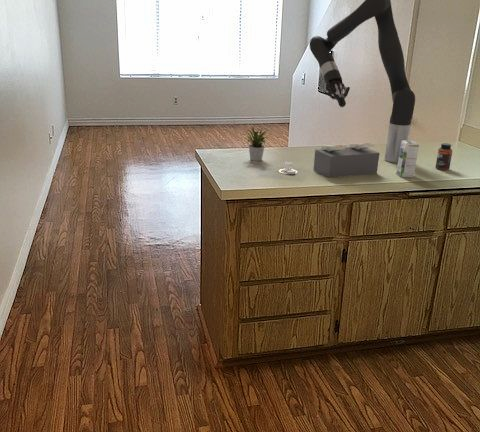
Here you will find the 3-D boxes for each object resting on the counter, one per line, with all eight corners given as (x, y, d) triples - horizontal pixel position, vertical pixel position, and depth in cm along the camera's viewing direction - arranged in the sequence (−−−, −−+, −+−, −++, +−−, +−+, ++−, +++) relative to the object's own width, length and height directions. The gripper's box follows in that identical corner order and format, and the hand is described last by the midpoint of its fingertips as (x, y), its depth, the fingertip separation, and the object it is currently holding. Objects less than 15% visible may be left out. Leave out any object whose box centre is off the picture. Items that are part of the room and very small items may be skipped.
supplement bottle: (449, 168, 236) (453, 143, 232) (449, 171, 231) (454, 146, 227) (435, 166, 238) (439, 141, 234) (435, 169, 233) (439, 144, 229)
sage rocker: (332, 150, 223) (332, 144, 223) (345, 151, 214) (345, 145, 214) (321, 151, 222) (321, 145, 221) (335, 151, 212) (335, 145, 212)
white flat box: (359, 148, 229) (359, 143, 228) (373, 148, 220) (373, 143, 219) (349, 149, 227) (349, 143, 226) (363, 149, 218) (363, 143, 217)
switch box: (360, 166, 234) (362, 146, 231) (376, 173, 224) (379, 152, 220) (313, 170, 225) (315, 149, 222) (328, 177, 214) (330, 156, 211)
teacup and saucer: (296, 176, 216) (297, 166, 215) (277, 174, 218) (277, 165, 216) (298, 170, 224) (299, 161, 223) (279, 169, 226) (280, 159, 224)
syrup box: (395, 173, 225) (400, 140, 219) (409, 173, 225) (414, 140, 220) (400, 177, 219) (405, 143, 214) (414, 177, 220) (419, 143, 215)
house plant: (232, 160, 234) (233, 124, 228) (243, 154, 246) (245, 119, 240) (262, 165, 229) (264, 127, 223) (272, 158, 241) (275, 122, 235)
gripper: (322, 68, 232) (334, 101, 226) (347, 68, 237) (360, 100, 231) (314, 79, 239) (326, 111, 233) (339, 79, 244) (351, 110, 238)
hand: (343, 106), depth 232 cm, fingers closed
